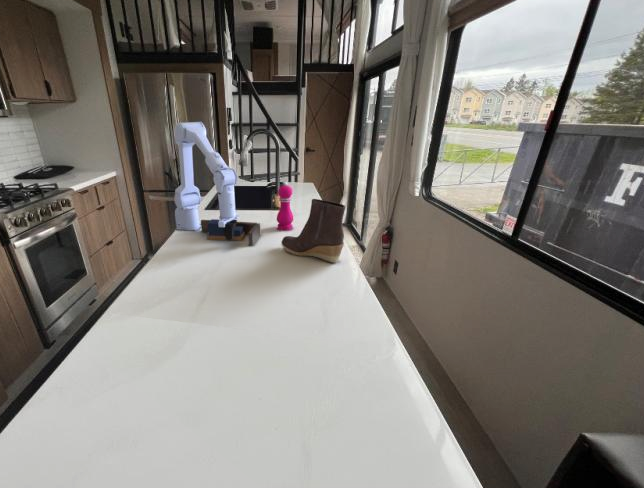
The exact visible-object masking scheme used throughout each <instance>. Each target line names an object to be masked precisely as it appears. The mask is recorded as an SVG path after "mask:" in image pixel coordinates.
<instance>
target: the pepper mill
mask: <svg viewBox="0 0 644 488" xmlns="http://www.w3.org/2000/svg"><path fill="white" fill-rule="evenodd" d="M277 194H278V196H279V200H278V202H280V203H279V205H280V207H279V210H278V212H277V214H276V222H277V230H279V231H283V232H286V231H287V232H288V231H291V230H292V229H293V224H292V223H294V214H293V212H292V209H291V202H292V197H291V196H292V195H293V188H292V187H291V186H289V185H288V182H287V181H284V182H283V183H282V185H281V186H279V188H278V190H277Z"/></svg>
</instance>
